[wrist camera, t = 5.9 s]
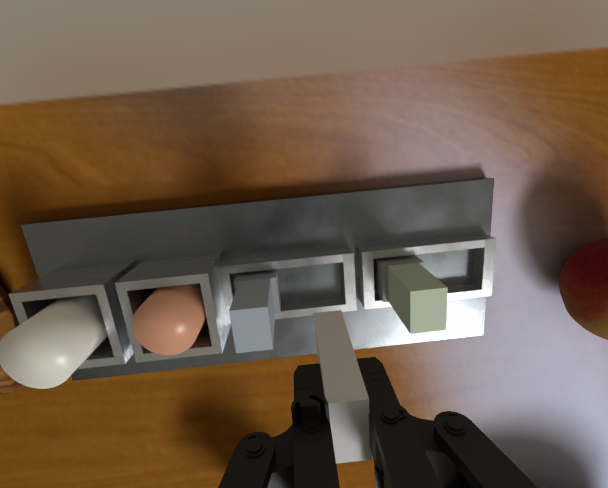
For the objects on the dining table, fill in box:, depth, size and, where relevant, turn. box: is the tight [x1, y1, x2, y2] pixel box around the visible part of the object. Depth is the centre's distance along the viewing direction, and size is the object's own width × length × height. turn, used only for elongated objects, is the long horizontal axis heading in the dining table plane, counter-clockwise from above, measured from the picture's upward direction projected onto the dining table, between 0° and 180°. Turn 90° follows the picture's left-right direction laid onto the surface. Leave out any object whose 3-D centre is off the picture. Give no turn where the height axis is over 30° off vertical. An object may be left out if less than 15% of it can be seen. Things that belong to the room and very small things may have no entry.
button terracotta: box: [132, 283, 206, 355], centre depth 23 cm, size 4×4×4 cm
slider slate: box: [229, 269, 281, 353], centre depth 22 cm, size 3×3×6 cm
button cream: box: [0, 295, 108, 389], centre depth 21 cm, size 4×4×4 cm
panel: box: [9, 178, 496, 381], centre depth 24 cm, size 34×13×5 cm, turn 95°
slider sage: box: [376, 255, 448, 334], centre depth 23 cm, size 3×3×6 cm
